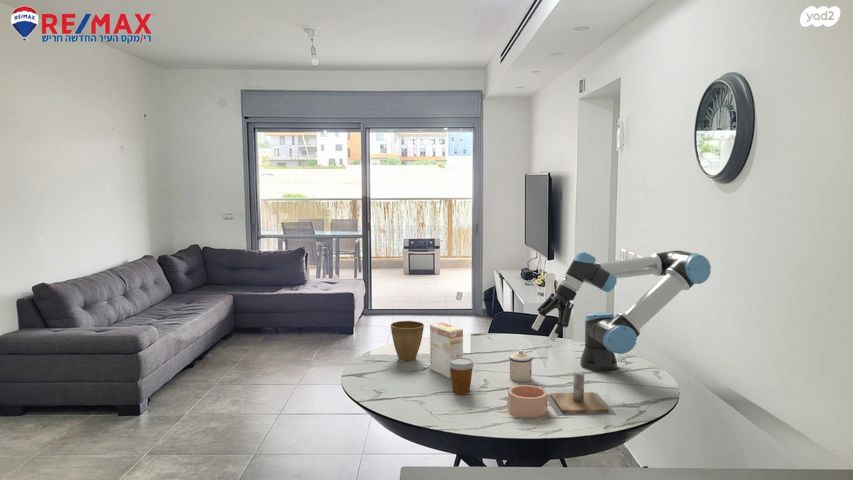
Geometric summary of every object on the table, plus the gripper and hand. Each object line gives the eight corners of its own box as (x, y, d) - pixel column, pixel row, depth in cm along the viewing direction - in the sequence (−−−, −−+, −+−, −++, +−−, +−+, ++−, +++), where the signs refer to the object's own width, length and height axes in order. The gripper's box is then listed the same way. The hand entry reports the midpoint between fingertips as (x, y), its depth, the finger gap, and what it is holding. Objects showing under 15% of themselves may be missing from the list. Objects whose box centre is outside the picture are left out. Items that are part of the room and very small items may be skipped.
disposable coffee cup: (447, 387, 226) (447, 357, 224) (471, 387, 226) (471, 356, 225) (450, 396, 216) (450, 365, 215) (475, 395, 217) (475, 364, 216)
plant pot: (412, 366, 252) (412, 330, 250) (384, 360, 260) (383, 325, 258) (430, 357, 265) (430, 322, 263) (403, 352, 272) (402, 318, 271)
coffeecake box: (463, 375, 240) (463, 329, 238) (449, 379, 236) (449, 331, 234) (443, 366, 252) (443, 321, 250) (429, 369, 248) (429, 324, 247)
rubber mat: (596, 394, 217) (596, 393, 217) (616, 416, 197) (616, 414, 197) (543, 396, 216) (543, 394, 216) (557, 417, 197) (557, 415, 197)
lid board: (593, 395, 215) (594, 365, 214) (608, 412, 199) (609, 380, 198) (550, 396, 215) (550, 366, 213) (562, 413, 199) (562, 381, 198)
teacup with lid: (535, 381, 232) (536, 352, 231) (514, 383, 230) (514, 354, 229) (523, 371, 244) (523, 344, 243) (503, 373, 242) (503, 346, 241)
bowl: (541, 403, 209) (541, 384, 208) (550, 418, 196) (551, 398, 195) (505, 404, 208) (505, 385, 208) (512, 419, 196) (512, 398, 195)
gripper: (546, 276, 242) (521, 321, 242) (579, 291, 218) (551, 341, 218) (559, 284, 244) (534, 328, 244) (593, 300, 221) (565, 349, 221)
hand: (542, 334), depth 231 cm, fingers open, 13 cm apart
